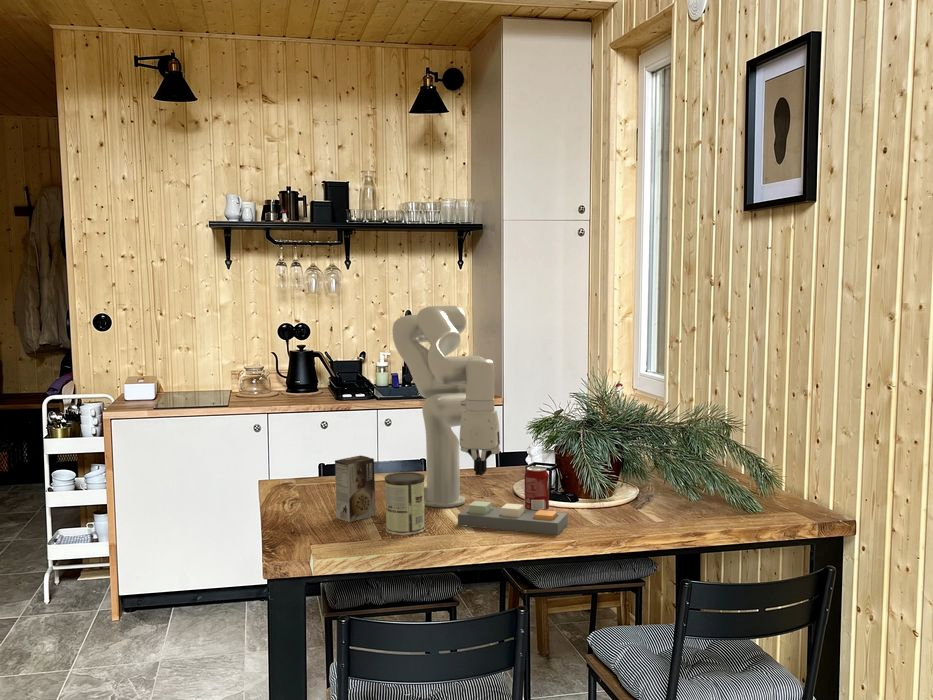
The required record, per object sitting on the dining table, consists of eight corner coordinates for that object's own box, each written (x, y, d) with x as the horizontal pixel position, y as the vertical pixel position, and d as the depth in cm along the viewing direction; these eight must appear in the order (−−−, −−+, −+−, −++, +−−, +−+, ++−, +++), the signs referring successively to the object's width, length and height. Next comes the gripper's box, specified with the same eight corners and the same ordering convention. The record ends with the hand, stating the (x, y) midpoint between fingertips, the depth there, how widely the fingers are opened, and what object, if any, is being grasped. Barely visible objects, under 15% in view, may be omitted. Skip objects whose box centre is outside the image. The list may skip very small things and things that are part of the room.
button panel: (457, 525, 232) (457, 514, 232) (471, 515, 241) (470, 505, 241) (557, 534, 223) (557, 523, 222) (567, 524, 232) (567, 513, 232)
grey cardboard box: (361, 511, 247) (360, 454, 246) (376, 516, 242) (375, 458, 241) (335, 518, 241) (333, 459, 239) (349, 522, 236) (348, 463, 235)
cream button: (501, 517, 230) (501, 507, 230) (506, 512, 235) (506, 503, 235) (518, 518, 229) (518, 509, 229) (524, 514, 233) (524, 504, 233)
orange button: (534, 524, 227) (534, 514, 227) (539, 519, 232) (539, 509, 232) (552, 525, 226) (552, 516, 226) (557, 520, 230) (557, 511, 230)
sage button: (468, 514, 234) (468, 505, 233) (474, 509, 238) (474, 500, 238) (485, 515, 232) (485, 506, 232) (491, 511, 236) (491, 502, 236)
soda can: (547, 514, 242) (547, 471, 241) (523, 513, 244) (522, 470, 243) (550, 508, 249) (550, 466, 248) (526, 507, 250) (526, 465, 249)
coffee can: (392, 523, 235) (391, 471, 234) (429, 525, 232) (429, 472, 231) (380, 534, 225) (379, 479, 224) (419, 536, 222) (418, 481, 221)
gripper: (448, 406, 232) (448, 475, 233) (502, 409, 227) (502, 479, 228) (458, 402, 239) (458, 469, 240) (511, 405, 234) (511, 473, 235)
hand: (480, 474), depth 234 cm, fingers closed
